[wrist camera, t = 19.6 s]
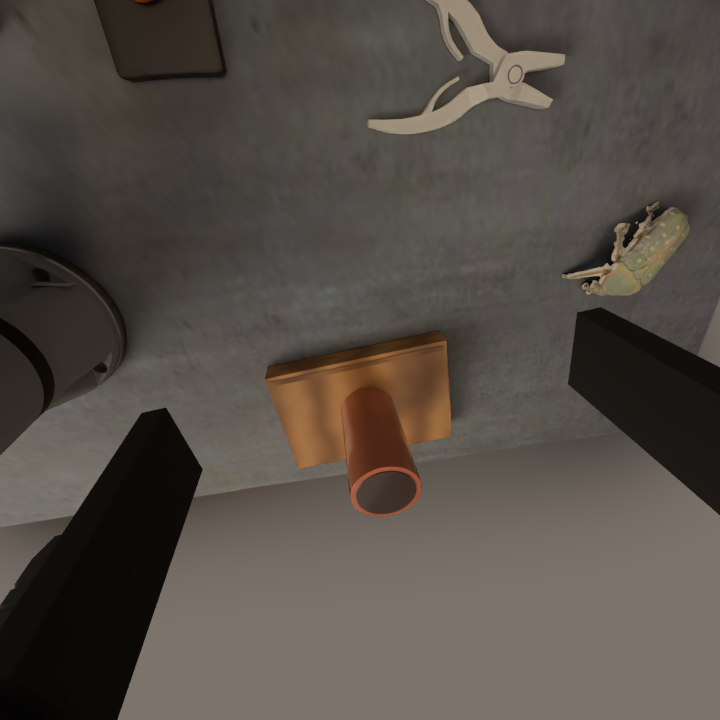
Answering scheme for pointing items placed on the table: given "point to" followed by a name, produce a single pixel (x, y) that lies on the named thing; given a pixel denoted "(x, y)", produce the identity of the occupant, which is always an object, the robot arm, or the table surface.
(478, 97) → the pliers
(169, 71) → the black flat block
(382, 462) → the pen cup
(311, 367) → the oak board
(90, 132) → the table surface
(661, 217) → the decorative insect model
